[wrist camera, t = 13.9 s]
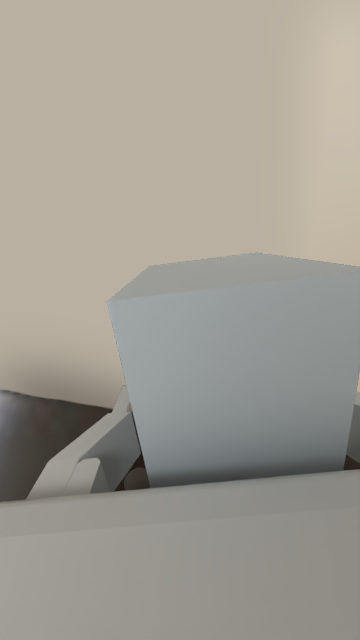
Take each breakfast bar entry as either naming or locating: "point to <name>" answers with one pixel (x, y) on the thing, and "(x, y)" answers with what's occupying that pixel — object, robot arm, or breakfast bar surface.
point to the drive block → (240, 366)
